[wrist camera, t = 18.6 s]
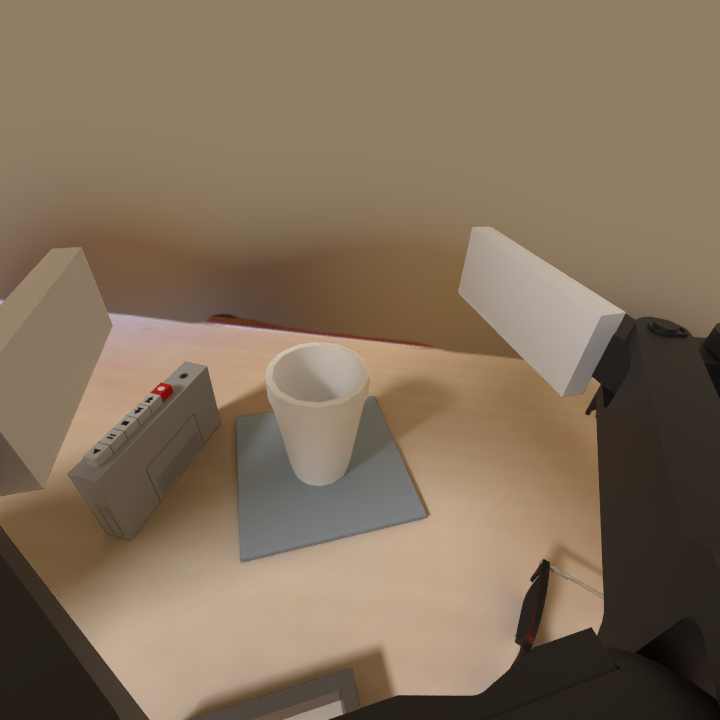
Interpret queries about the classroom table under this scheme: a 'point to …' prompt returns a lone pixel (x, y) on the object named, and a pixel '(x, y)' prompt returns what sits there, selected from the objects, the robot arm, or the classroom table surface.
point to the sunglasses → (537, 606)
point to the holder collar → (295, 700)
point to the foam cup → (318, 407)
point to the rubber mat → (318, 489)
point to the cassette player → (147, 451)
